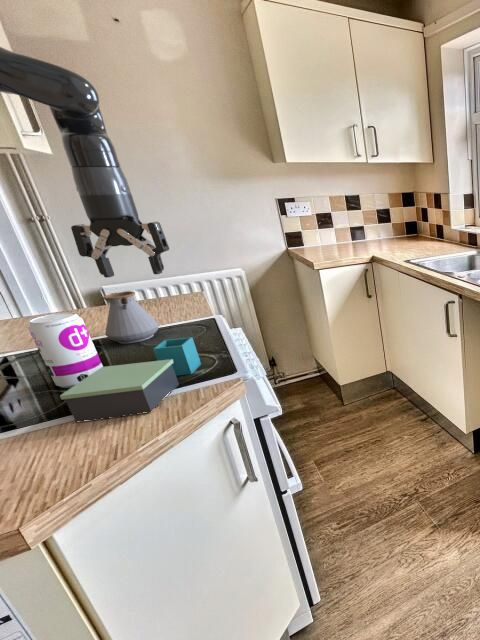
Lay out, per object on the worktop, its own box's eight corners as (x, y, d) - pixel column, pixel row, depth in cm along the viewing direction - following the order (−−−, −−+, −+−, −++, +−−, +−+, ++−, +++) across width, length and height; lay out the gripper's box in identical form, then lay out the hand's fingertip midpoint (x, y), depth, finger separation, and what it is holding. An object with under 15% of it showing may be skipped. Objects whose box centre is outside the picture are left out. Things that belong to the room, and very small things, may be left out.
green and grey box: (73, 424, 78) (59, 395, 75) (113, 392, 89) (102, 366, 87) (152, 413, 81) (141, 385, 78) (181, 383, 92) (172, 359, 90)
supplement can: (115, 373, 98) (90, 312, 92) (76, 390, 90) (45, 324, 84) (87, 371, 99) (60, 310, 93) (46, 388, 92) (13, 323, 86)
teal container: (163, 377, 95) (152, 349, 93) (174, 367, 100) (164, 339, 98) (191, 373, 97) (182, 345, 94) (201, 364, 102) (192, 337, 99)
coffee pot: (107, 339, 119) (86, 287, 113) (158, 328, 126) (140, 279, 121) (115, 360, 105) (91, 302, 99) (172, 346, 112) (152, 292, 107)
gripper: (157, 191, 86) (181, 269, 92) (73, 192, 83) (103, 273, 89) (138, 192, 80) (165, 276, 86) (45, 194, 76) (80, 281, 82)
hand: (134, 275), depth 87 cm, fingers open, 8 cm apart
